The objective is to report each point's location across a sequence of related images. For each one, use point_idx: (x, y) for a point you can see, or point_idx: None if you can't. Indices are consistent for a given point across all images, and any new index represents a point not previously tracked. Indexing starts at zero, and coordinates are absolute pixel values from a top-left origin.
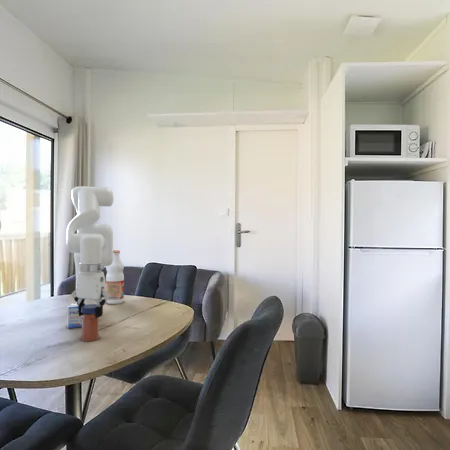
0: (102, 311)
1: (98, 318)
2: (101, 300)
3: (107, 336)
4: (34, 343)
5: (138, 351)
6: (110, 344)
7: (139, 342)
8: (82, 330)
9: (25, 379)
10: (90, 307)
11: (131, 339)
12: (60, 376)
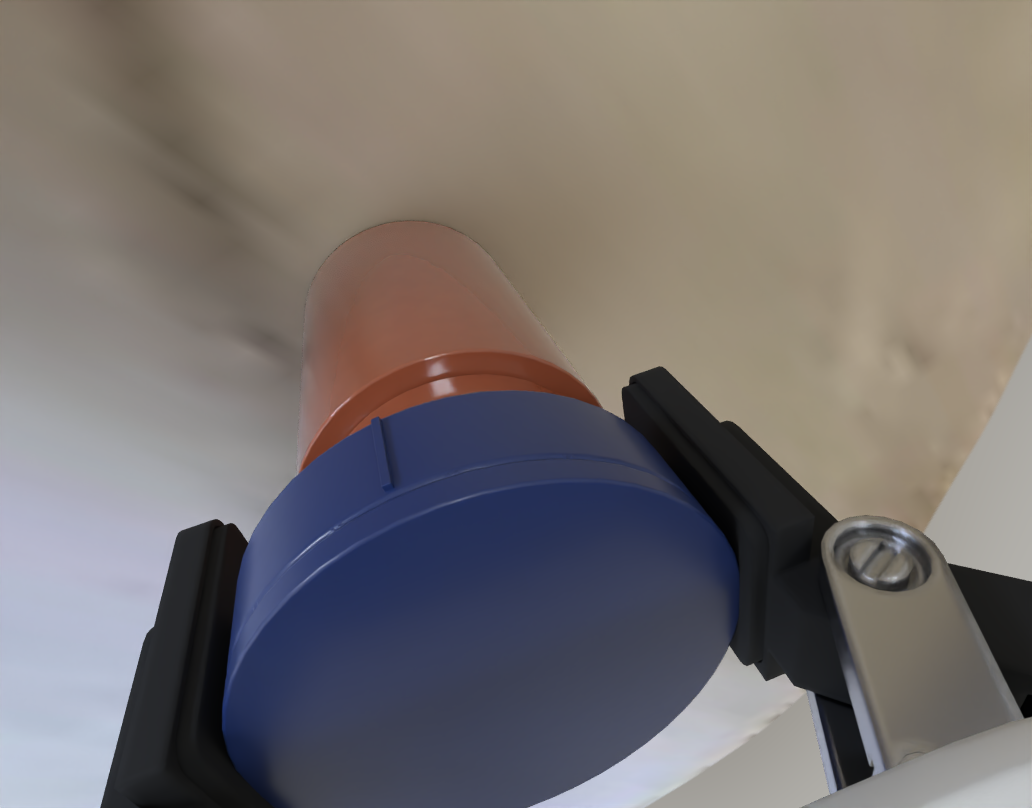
0: (757, 452)
1: (600, 406)
2: (949, 695)
3: (530, 128)
4: (68, 704)
5: (1028, 303)
6: (738, 319)
7: (992, 100)
8: None
9: (641, 802)
10: (603, 719)
11: (877, 55)
12: (756, 720)
